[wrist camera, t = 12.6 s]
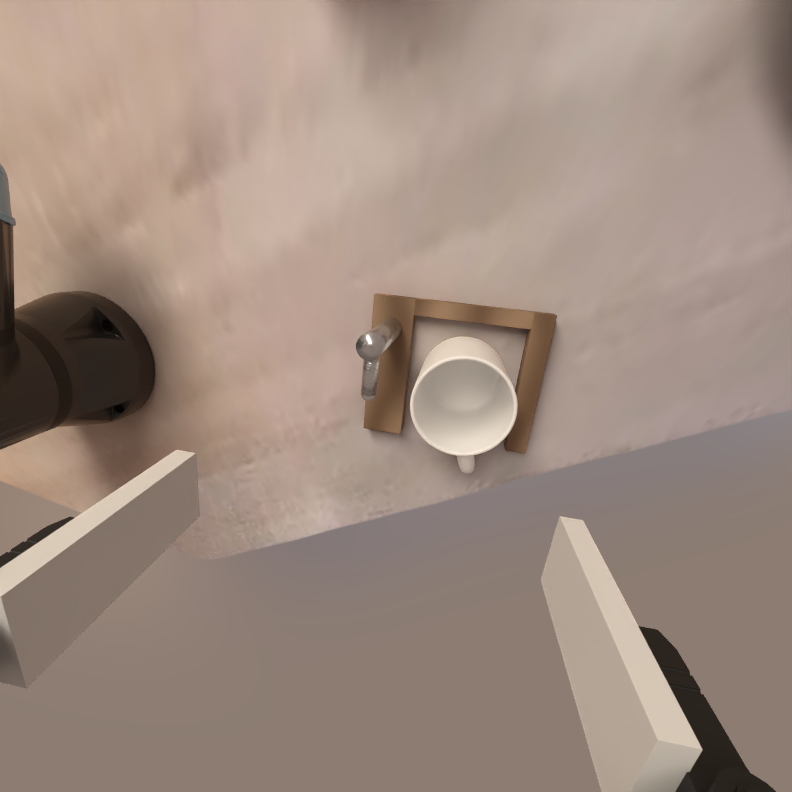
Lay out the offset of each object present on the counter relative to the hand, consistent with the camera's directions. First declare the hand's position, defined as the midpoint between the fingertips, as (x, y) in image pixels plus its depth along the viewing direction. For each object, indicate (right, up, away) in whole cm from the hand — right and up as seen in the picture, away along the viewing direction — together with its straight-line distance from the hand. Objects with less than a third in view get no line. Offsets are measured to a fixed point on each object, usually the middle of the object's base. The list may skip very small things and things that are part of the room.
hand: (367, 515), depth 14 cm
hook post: (0, +9, +25) cm, 26 cm away
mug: (+8, +5, +27) cm, 28 cm away
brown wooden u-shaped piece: (+7, +7, +26) cm, 28 cm away
